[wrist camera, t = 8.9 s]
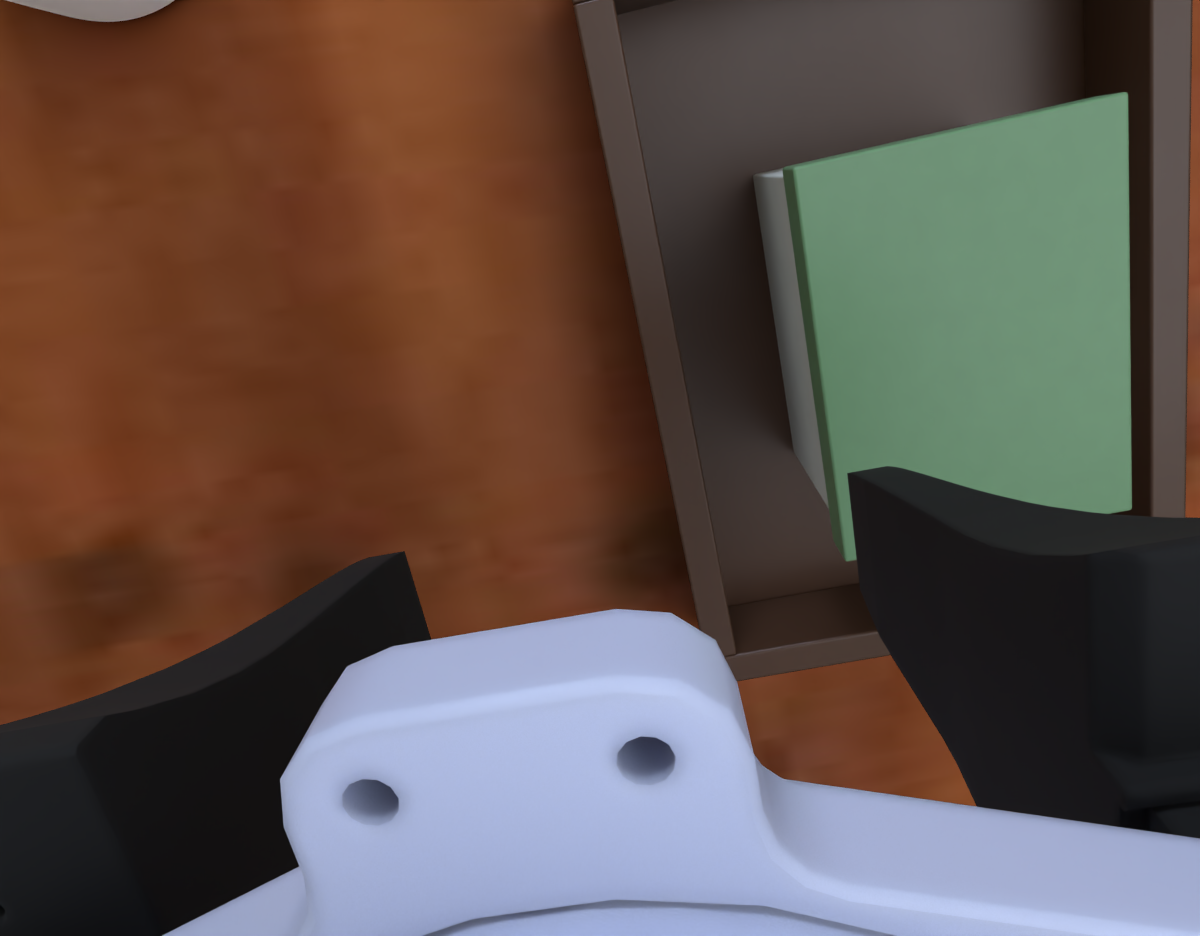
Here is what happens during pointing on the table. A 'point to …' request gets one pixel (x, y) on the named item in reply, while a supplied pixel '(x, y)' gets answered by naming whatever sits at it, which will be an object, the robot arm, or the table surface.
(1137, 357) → the tray
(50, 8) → the can
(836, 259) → the container
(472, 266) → the table surface
